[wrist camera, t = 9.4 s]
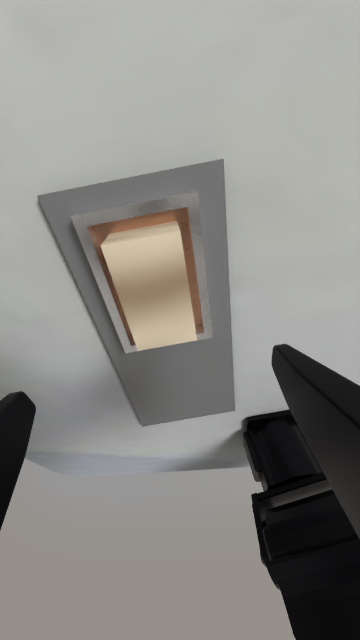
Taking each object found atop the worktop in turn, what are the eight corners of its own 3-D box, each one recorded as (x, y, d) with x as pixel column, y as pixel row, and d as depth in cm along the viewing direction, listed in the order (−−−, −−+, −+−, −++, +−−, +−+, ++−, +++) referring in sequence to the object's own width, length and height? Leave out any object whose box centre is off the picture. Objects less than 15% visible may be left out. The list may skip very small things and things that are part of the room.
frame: (194, 190, 13) (197, 191, 12) (210, 329, 18) (212, 337, 17) (76, 213, 13) (70, 216, 12) (127, 344, 18) (125, 353, 17)
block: (192, 319, 17) (197, 340, 15) (140, 329, 17) (137, 350, 15) (176, 220, 13) (180, 230, 11) (109, 233, 13) (100, 245, 11)
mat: (221, 159, 12) (223, 159, 12) (233, 406, 25) (235, 410, 24) (40, 195, 12) (36, 196, 12) (142, 422, 25) (142, 426, 24)
